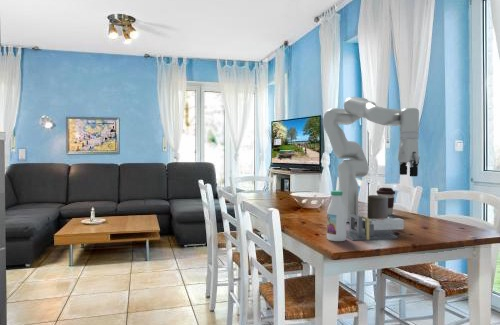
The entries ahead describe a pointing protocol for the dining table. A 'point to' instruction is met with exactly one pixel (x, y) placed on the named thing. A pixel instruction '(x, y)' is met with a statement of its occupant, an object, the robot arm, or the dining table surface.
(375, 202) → the pillar candle
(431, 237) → the dining table surface
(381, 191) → the coffee cup
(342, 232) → the milk bottle
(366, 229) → the collar rail
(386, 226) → the white post with dot
